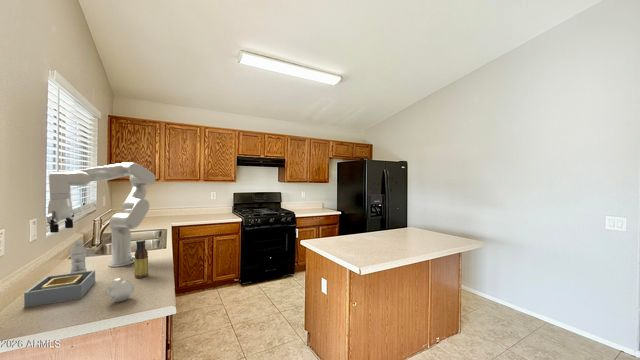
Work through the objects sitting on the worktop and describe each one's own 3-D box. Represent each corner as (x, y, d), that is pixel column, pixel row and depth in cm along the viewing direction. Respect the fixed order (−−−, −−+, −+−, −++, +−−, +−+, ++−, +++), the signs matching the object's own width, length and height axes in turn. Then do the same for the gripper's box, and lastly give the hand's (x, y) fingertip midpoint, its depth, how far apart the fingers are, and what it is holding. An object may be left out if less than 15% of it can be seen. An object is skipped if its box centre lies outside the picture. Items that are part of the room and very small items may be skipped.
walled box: (95, 281, 133) (95, 270, 133) (81, 298, 115) (81, 284, 115) (47, 288, 125) (47, 276, 124) (24, 307, 107) (24, 293, 107)
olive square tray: (83, 284, 127) (83, 274, 127) (74, 293, 118) (74, 282, 117) (52, 288, 122) (52, 278, 122) (41, 298, 112) (41, 287, 112)
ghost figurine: (111, 298, 115) (111, 275, 115) (136, 294, 119) (136, 273, 119) (102, 307, 107) (102, 283, 107) (129, 303, 110) (129, 280, 110)
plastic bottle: (89, 277, 139) (89, 240, 139) (74, 282, 132) (74, 243, 132) (82, 275, 141) (82, 239, 141) (66, 280, 135) (66, 242, 134)
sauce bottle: (139, 274, 143) (138, 238, 143) (150, 273, 144) (150, 238, 144) (131, 278, 137) (131, 241, 137) (143, 278, 137) (143, 241, 137)
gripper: (64, 195, 138) (66, 226, 139) (37, 198, 121) (38, 234, 122) (81, 194, 140) (82, 226, 141) (56, 198, 123) (57, 233, 124)
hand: (62, 230), depth 131 cm, fingers open, 9 cm apart
